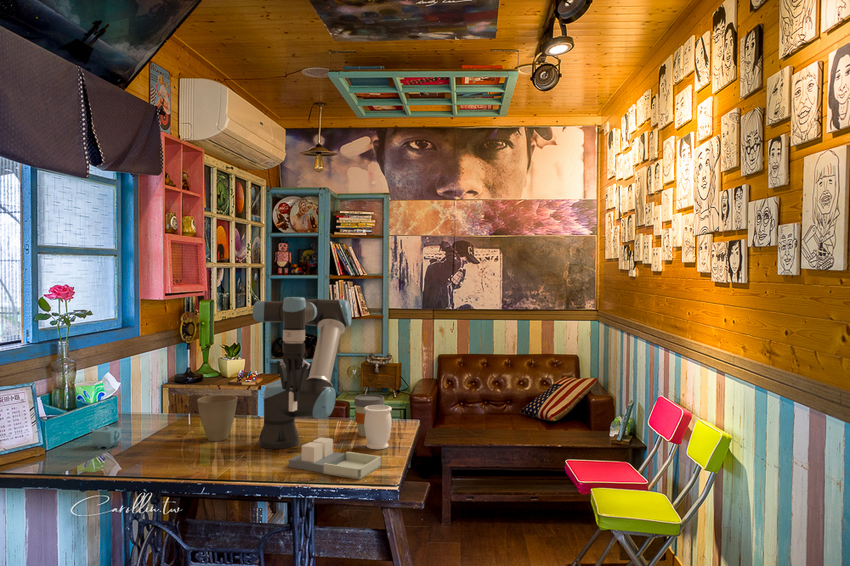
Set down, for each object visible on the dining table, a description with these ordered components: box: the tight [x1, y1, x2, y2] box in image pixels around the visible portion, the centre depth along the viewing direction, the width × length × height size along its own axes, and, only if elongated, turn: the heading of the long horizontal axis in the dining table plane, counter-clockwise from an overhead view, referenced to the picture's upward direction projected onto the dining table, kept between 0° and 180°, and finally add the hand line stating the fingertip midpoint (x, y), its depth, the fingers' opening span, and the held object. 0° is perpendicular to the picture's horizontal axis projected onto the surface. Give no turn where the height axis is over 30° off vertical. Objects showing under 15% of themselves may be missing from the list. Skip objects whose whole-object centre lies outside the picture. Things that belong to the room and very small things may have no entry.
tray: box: [323, 451, 383, 481], centre depth 189 cm, size 14×15×3 cm
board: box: [288, 451, 346, 474], centre depth 195 cm, size 14×14×2 cm
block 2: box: [312, 437, 334, 457], centre depth 198 cm, size 5×5×5 cm
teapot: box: [89, 425, 122, 450], centre depth 212 cm, size 12×6×8 cm, turn 87°
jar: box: [364, 404, 393, 450], centre depth 216 cm, size 11×10×15 cm
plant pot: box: [197, 394, 238, 442], centre depth 224 cm, size 15×15×16 cm
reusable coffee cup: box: [353, 393, 385, 437], centre depth 235 cm, size 13×13×15 cm
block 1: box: [301, 441, 323, 463], centre depth 192 cm, size 5×5×5 cm
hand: (292, 410), depth 195 cm, fingers closed
